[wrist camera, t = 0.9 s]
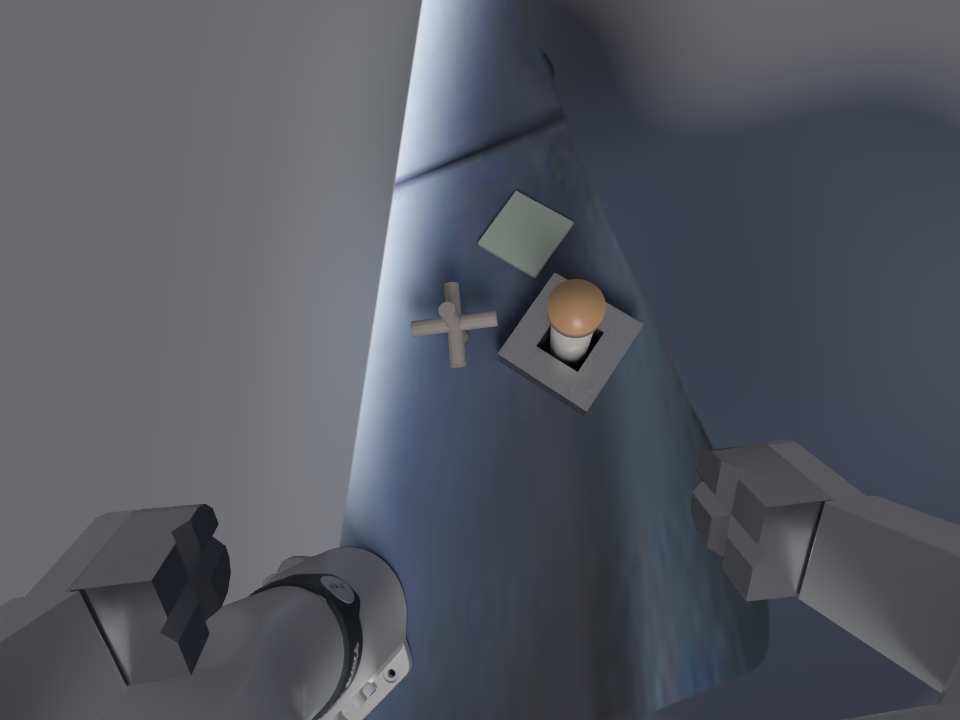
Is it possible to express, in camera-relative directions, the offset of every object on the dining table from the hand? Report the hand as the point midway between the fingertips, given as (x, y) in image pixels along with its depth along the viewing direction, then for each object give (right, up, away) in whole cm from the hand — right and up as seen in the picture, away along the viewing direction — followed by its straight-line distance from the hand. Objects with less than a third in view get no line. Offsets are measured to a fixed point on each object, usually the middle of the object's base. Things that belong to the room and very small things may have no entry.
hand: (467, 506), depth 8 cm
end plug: (+11, +4, +52) cm, 54 cm away
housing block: (+11, +4, +52) cm, 54 cm away
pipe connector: (-2, +5, +55) cm, 55 cm away
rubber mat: (+6, +19, +57) cm, 60 cm away
